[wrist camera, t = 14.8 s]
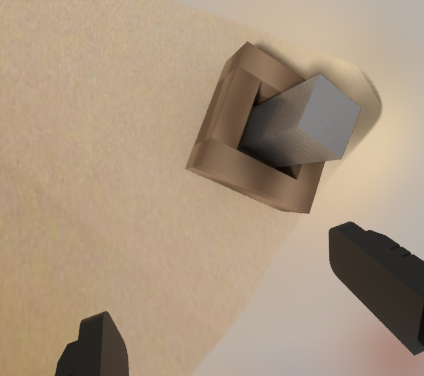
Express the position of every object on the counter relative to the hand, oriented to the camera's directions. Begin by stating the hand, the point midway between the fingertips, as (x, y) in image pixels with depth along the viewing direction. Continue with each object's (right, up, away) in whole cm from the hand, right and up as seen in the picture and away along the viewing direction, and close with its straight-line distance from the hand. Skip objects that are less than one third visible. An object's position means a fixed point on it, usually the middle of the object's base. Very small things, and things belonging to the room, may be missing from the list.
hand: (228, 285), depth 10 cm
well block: (+4, +9, +22) cm, 23 cm away
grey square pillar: (+4, +8, +21) cm, 23 cm away
